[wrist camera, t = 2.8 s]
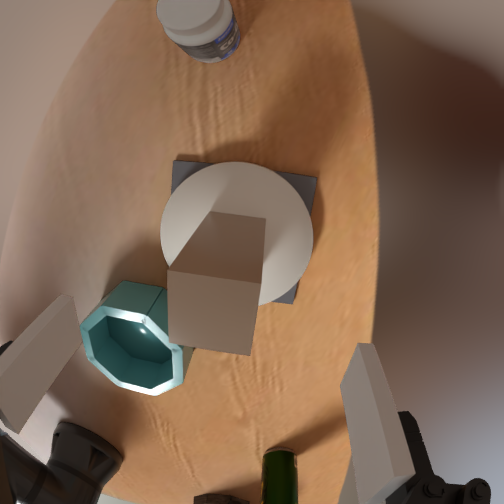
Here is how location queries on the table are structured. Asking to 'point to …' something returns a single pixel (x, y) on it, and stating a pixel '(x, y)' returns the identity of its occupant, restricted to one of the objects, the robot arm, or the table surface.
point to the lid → (230, 252)
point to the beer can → (279, 477)
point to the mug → (218, 499)
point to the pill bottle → (200, 27)
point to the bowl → (135, 340)
